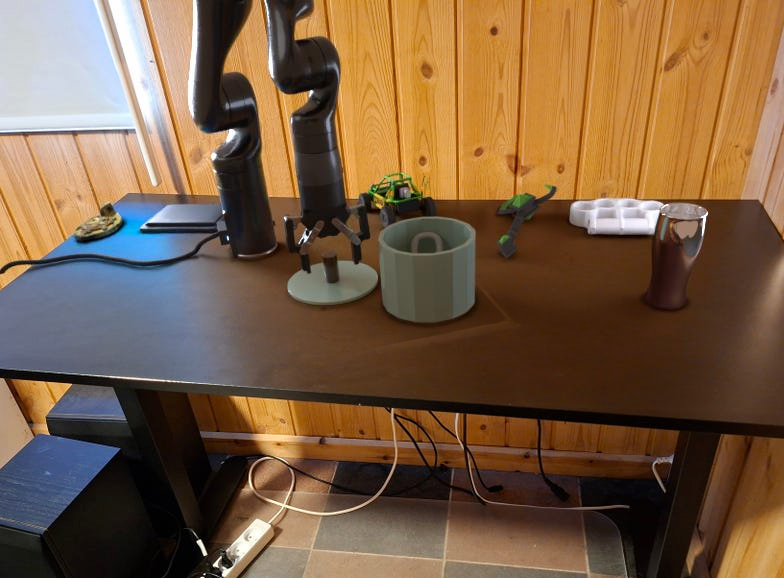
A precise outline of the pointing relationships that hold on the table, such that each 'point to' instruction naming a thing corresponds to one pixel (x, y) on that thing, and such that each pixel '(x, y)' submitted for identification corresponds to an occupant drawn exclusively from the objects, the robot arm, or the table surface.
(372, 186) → the motor vehicle
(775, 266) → the table surface
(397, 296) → the pot
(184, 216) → the dark grey flat block
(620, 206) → the white flat holed piece
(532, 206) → the war hammer
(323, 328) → the table surface
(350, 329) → the table surface
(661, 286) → the beer glass
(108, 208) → the olive oval piece
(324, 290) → the pot lid
